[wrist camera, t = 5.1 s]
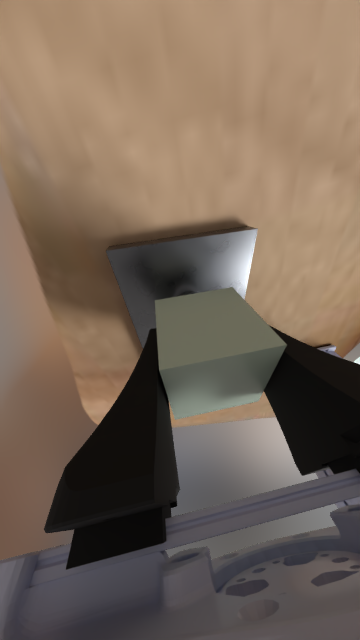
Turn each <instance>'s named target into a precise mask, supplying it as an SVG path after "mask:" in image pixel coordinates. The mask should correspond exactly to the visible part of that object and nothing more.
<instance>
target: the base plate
mask: <svg viewBox="0 0 360 640" xmlns="http://www.w3.org/2000/svg"><path fill="white" fill-rule="evenodd" d="M257 230H258V229H257V228H253V227H249V226H248V227H241V228H234V229H227V230H220V231H213V232H206V233H199V234H192V235H185V236H178V237H171V238H164V239H157V240H151V241H144V242H137V243H130V244H123V245H116V246H109V248H108V249H107V250H106V253H107V256H108V258H109V261H110V263H111V266H112V269H113V271H114V274H115V277H116V279H117V282H118V285H119V287H120V290H121V292H122V295H123V298H124V300H125V303H126V306H127V308H128V311H129V314H130V316H131V319H132V321H133V324H134V327H135V329H136V332H137V335H138V337H139V340H140V342H141V345H142V348H144V346H145V343H146V340H147V337H148V334H149V330H150V329H153V328H156V313H155V300H160V299H165V298H171V297H177V296H183V295H189V294H195V293H201V292H207V291H213V290H218V289H224V288H230V287H233V288H234V289H235V291H236V292H237V293H238V294H239V295H240V296H241V297H242V298H243V299H245V293H246V288H247V283H248V278H249V272H250V267H251V262H252V256H253V251H254V246H255V241H256V235H257Z"/></svg>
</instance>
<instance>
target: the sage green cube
mask: <svg viewBox="0 0 360 640" xmlns="http://www.w3.org/2000/svg"><path fill="white" fill-rule="evenodd" d="M155 313H156V328H157V344H158V360H159V371H160V374H161V377H162V380H163V384H164V387H165V390H166V393H167V396H168V399H169V402H170V405H171V408H172V411H173V414H174V418H175V420H176V419H180V418H185V417H189V416H194V415H198V414H203V413H207V412H212V411H217V410H221V409H226V408H230V407H235V406H239V405H244V404H248V403H253V402H257V401H259V399H260V397H261V395H262V393H263V391H264V389H265V387H266V385H267V383H268V381H269V379H270V377H271V375H272V373H273V371H274V369H275V367H276V365H277V363H278V362H279V360H280V358H281V356H282V354H283V352H284V350H285V348H286V346H287V344H286V343H285V342H284V341H283V340H282V339H281V338H280V337H279V336H278V335H277V334H276V333H275V332H274V330H273V329H272V328H271V327H270V326H269V325H268V324H267V323H266V322H265V321H264V320H263V319H262V318H261V317H260V316H259V315H258V314H257V313H256V312H255V311H254V309H253V308H252V307H251V306H250V305H249V304H248V303H247V302H246V301H245V300H244V299H243V298H242V297H241V296H240V295H239V294H238V293H237V292H236V291H235V289H234V288H233V287H230V288H224V289H218V290H213V291H207V292H201V293H195V294H189V295H183V296H177V297H171V298H165V299H160V300H155Z"/></svg>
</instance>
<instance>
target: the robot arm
mask: <svg viewBox="0 0 360 640" xmlns="http://www.w3.org/2000/svg"><path fill="white" fill-rule="evenodd" d="M269 326H270V325H269ZM270 327H271V326H270ZM271 328H272V329H273V330H274V332H275V333H276V334H277V335H278V336H279V337H280V338H281V339H282V340H283V341H284V342H285V343H286V344H287V346H286V348H285V350H284V352H283V354H282V356H281V358H280V360H279V362H278V363H277V365H276V367H275V369H274V371H273V373H272V375H271V377H270V379H269V381H268V383H267V385H266V387H265V389H264V392H265V394H266V396H267V398H268V400H269V402H270V405H271V407H272V409H273V411H274V413H275V415H276V418H277V420H278V422H279V424H280V427H281V429H282V431H283V434H284V436H285V439H286V441H287V444H288V446H289V448H290V451H291V453H292V456H293V459H294V462H295V464H296V466H297V467H298V469H299V471H300V473H301V475H307V474H311V473H315V472H316V474H317V476H318V478H319V479H315V480H311V481H307V482H304V483H300V484H296V485H292V486H288V487H285V488H281V489H277V490H273V491H269V492H266V493H262V494H258V495H254V496H250V497H247V498H243V499H239V500H236V501H231V502H228V503H224V504H220V505H216V506H212V507H208V508H204V509H201V510H197V511H193V512H189V513H185V514H182V515H178V516H174V517H171V508H173V507H176V506H177V499H176V496H177V494H178V492H179V490H180V487H179V480H178V472H177V465H176V458H175V451H174V442H173V435H172V426H171V418H170V410H169V400H168V396H167V393H166V390H165V387H164V384H163V380H162V377H161V374H160V371H159V360H158V344H157V328H153V329H150V330H149V334H148V337H147V340H146V343H145V346H144V348H143V351H142V353H141V356H140V358H139V360H138V362H137V364H136V366H135V369H134V371H133V373H132V374H131V376H130V378H129V380H128V382H127V383H126V385H125V387H124V389H123V390H122V392H121V393H120V395H119V397H118V398H117V400H116V401H115V403H114V404H113V406H112V407H111V409H110V410H109V412H108V413H107V414H106V416H105V417H104V418H103V420H102V421H101V423H100V424H99V425H98V427H97V428H96V429H95V431H94V432H93V433H92V435H91V436H90V437H89V438H88V440H87V441H86V442H85V444H84V445H83V446H82V447H81V448H80V450H79V451H78V452H77V453H76V455H75V456H74V457H73V458H72V459H71V461H70V462H69V463H68V464H67V466H66V467H65V469H64V472H63V474H62V477H61V479H60V481H59V484H58V487H57V490H56V493H55V496H54V499H53V503H52V505H51V509H50V512H49V515H48V518H47V521H46V525H45V528H44V530H45V532H46V533H52V532H60V531H66V530H73V529H75V530H74V534H73V539H72V543H71V544H67V545H60V546H56V547H52V548H48V549H45V550H41V551H36V552H31V553H27V554H23V555H19V556H15V557H11V558H8V559H4V560H0V640H360V364H357V363H354V362H351V361H348V360H345V359H343V358H341V357H340V356H339V355H338V354H337V353H335V352H334V350H335V349H336V346H334V345H331V346H326V347H321V348H314V347H312V346H309V345H307V344H305V343H303V342H300V341H298V340H296V339H294V338H292V337H290V336H288V335H286V334H284V333H282V332H281V331H279V330H277V329H275V328H273V327H271ZM331 504H335V505H336V506H337V507H338V508H339V509H337V510H335V511H332V512H330V516H331V518H332V520H333V521H334V523H335V525H336V526H333V527H329V528H324V529H319V530H315V531H310V532H305V533H301V534H296V535H291V536H287V537H283V538H278V539H274V540H270V541H266V542H262V543H259V544H256V545H252V546H249V547H246V548H243V549H240V550H237V551H234V552H231V553H229V554H226V555H223V556H221V557H218V558H215V559H212V560H211V557H210V551H209V548H208V547H207V546H206V547H200V548H193V549H188V550H184V551H181V552H178V553H176V554H174V555H173V556H171V557H170V558H169V557H168V555H167V553H166V551H165V550H167V549H171V548H175V547H178V546H182V545H186V544H189V543H193V542H196V541H200V540H204V539H207V538H211V537H215V536H218V535H222V534H225V533H229V532H233V531H236V530H240V529H243V528H247V527H251V526H254V525H258V524H262V523H265V522H269V521H273V520H276V519H280V518H284V517H287V516H291V515H295V514H298V513H302V512H305V511H309V510H312V509H316V508H320V507H324V506H327V505H331Z"/></svg>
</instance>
